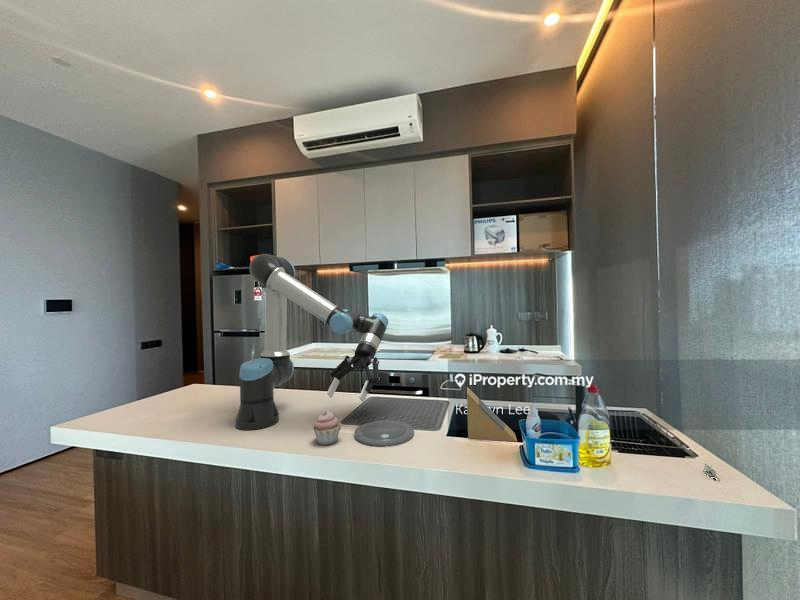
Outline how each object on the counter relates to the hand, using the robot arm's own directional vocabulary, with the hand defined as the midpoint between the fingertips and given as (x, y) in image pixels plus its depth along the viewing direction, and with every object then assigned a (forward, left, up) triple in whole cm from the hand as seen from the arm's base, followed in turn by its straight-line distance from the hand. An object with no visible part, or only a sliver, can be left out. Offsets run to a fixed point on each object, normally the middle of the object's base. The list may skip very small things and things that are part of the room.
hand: (344, 397), depth 116 cm
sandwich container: (+39, +30, -12) cm, 51 cm away
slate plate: (+11, +8, -12) cm, 18 cm away
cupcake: (+1, -8, -12) cm, 15 cm away
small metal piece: (+91, +40, -13) cm, 100 cm away
